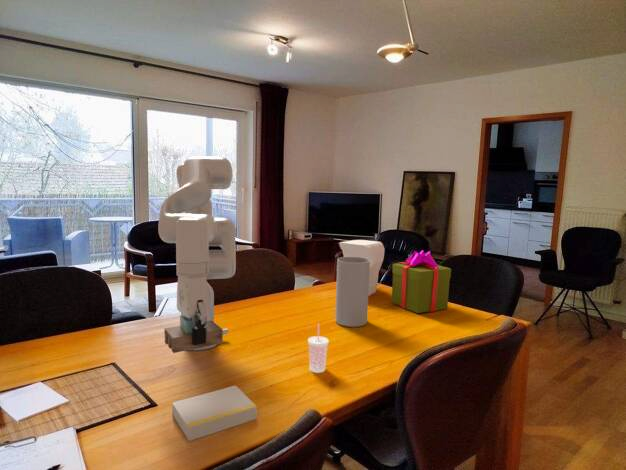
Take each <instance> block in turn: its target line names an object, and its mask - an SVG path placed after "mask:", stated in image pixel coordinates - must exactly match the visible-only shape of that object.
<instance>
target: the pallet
mask: <svg viewBox="0 0 626 470" xmlns="http://www.w3.org/2000/svg"><path fill="white" fill-rule="evenodd" d="M163 329H164V343H165V344H166V345H167V347H168V348H169V349H171V352H172V353H173V354H175V353H176V354H177V353H180V352H185V351H192V350H191V349H196V348H201V347H206V346H211V345H216V344H217V345H220V344H223V335H222V327H220V326H219V325H218V324H216V323H215V321H214V322H213V321H212V320H211V321H207V330H206V343H204V344H199V345H193V344H192V333H188V334H186V333H185V332H184V331H183V330H182V329H181V328H180V325H176V326H171V327H166V328H165V327H164V328H163ZM217 345H216V346H217Z"/></svg>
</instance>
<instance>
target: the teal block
mask: <svg viewBox="0 0 626 470" xmlns="http://www.w3.org/2000/svg"><path fill="white" fill-rule="evenodd" d="M195 315H200V314H199V313H197V314H195ZM198 320H200V318H198V319H196V323H197V321H198ZM179 324H180V325H179V326H180V328H181V329H182V330H183V331H184V332H185V333H186V334H188V333H192V329H193V328H194V327H193V321H192V317H191V318H190V319H188V318H186V317H185V316H184V315H182V316H181V315H180V316H179ZM206 330H207V321H206Z"/></svg>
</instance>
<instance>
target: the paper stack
mask: <svg viewBox="0 0 626 470" xmlns="http://www.w3.org/2000/svg"><path fill="white" fill-rule="evenodd" d="M337 244H338V245H339V247H340V250H342V255H343V257H361V258H366V259H369V260H370V269H369V290H368V297H369V296H371V295H372V294H376V292H377V288H378V281H379V271H380V269H381V268H382V264H383V262H384V259H385V258H384V257H385V250H386V249H385V246H384V244H383V243H382V241H377V240H368V239H367V240H366V239H352V240H346V241H340V242H338V243H337Z"/></svg>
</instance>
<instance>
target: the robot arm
mask: <svg viewBox="0 0 626 470" xmlns="http://www.w3.org/2000/svg"><path fill="white" fill-rule="evenodd" d="M233 173H234V172H233V166H232V163H231V162H230V160H229V159H228V158H226V157H223V156H203V155H201V156H200V155H198V156H197V155H195V156H190V157H188V158H186V160H185V161H184V162H183V163H181V164H179V165H178V166H177V168H176V179H177V184H178V189H176V190H175V191H174V192H172V193H171V194H169V195H168V196H167V197H166V198H165V200H164V201H163V202H162V204H161V207H160V212H159V219H158V225H157V226H158V228H157V229H158V235H159V238H160V239H161V241H163V242H164V243H167V244H175V248H176V249H175V252H176V253H175V260H176V263H175V264H176V276H177V285H176V286H177V289H176V308H177V310H178V312H180V313H181V314H180V316H182V315H184V316H185V317H186V318H188V319H190V318H191V317H192V321H193V327H194V328H193V329H192V344H193V345H199V344H204V343H206V321H211V320H212V321H213V322H214V323H215V294H214V292H215V291H214V290H213V287H212V286H211V285H210V283H209V282H208V281H207V280H219V279H221V280H222V279H223V280H224V279H226V280H227V279H231V278H232V277H234V276H235V274H236V270H237V267H236V266H237V264H236V263H237V260H236V259H237V256H236V254H237V253H236V228H235V224H234V222H233V220H232V219H230V218H227V217H213V204H212V201H211V197H212V190H228V189H229V188H230V186H231V184H232V180H233ZM184 212H185V213H184ZM210 247H220V248H221V249H209V248H210ZM197 313H199V314H200V315H195V314H197ZM198 318H200V320H198V321H197V323H196V319H198ZM228 334H229V329H228V328H223V329H222V336H224V335H225V336H226V335H228ZM217 345H218V344H216V345H211V346H206V347H201V348H196V349H191V350H190V351H206V350H209V349H212V348H215V347H216V346H217Z"/></svg>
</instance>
